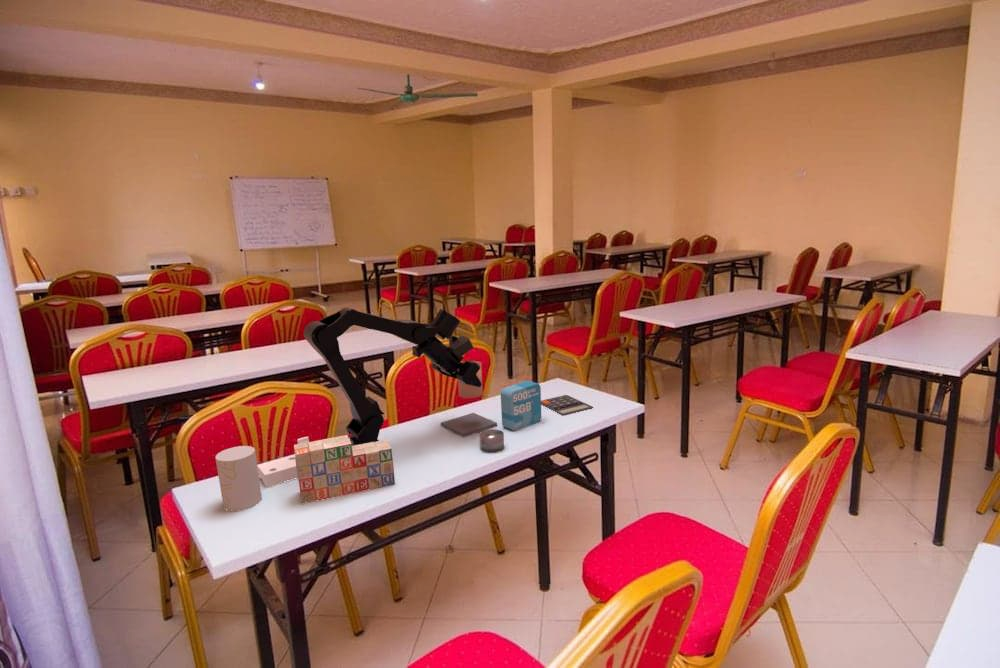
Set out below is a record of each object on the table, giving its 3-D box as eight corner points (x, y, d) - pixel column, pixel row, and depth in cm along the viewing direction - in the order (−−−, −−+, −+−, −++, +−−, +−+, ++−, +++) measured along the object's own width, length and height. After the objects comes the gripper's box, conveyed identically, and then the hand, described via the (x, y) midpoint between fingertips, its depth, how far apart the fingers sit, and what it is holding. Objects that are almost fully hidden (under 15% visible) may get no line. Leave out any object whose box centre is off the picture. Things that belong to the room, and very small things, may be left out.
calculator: (566, 394, 198) (593, 406, 185) (566, 396, 198) (593, 409, 185) (536, 401, 193) (562, 414, 180) (536, 403, 193) (562, 417, 180)
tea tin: (488, 454, 154) (487, 440, 154) (475, 447, 160) (475, 433, 159) (508, 448, 158) (508, 434, 157) (496, 441, 163) (495, 427, 162)
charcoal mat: (463, 437, 167) (463, 433, 167) (440, 425, 176) (440, 422, 176) (497, 426, 174) (496, 422, 174) (473, 415, 183) (473, 412, 183)
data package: (512, 432, 169) (510, 392, 166) (501, 428, 172) (500, 388, 170) (541, 420, 177) (540, 382, 174) (531, 417, 180) (530, 379, 177)
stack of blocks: (390, 474, 146) (386, 427, 144) (395, 485, 141) (391, 436, 138) (299, 492, 139) (293, 443, 136) (301, 504, 133) (294, 453, 130)
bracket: (310, 463, 155) (307, 436, 153) (319, 472, 149) (316, 444, 148) (259, 478, 148) (254, 450, 146) (266, 488, 142) (262, 459, 140)
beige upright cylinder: (218, 503, 135) (210, 454, 133) (253, 490, 141) (246, 443, 138) (231, 515, 130) (223, 464, 127) (267, 501, 135) (260, 452, 133)
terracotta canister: (474, 399, 167) (473, 368, 165) (454, 396, 170) (452, 366, 168) (487, 392, 173) (485, 362, 171) (467, 389, 176) (465, 360, 174)
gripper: (472, 334, 157) (508, 366, 166) (438, 324, 172) (473, 354, 181) (448, 368, 155) (485, 399, 163) (416, 355, 170) (452, 384, 178)
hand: (474, 382), depth 171 cm, fingers closed on terracotta canister, 7 cm apart
